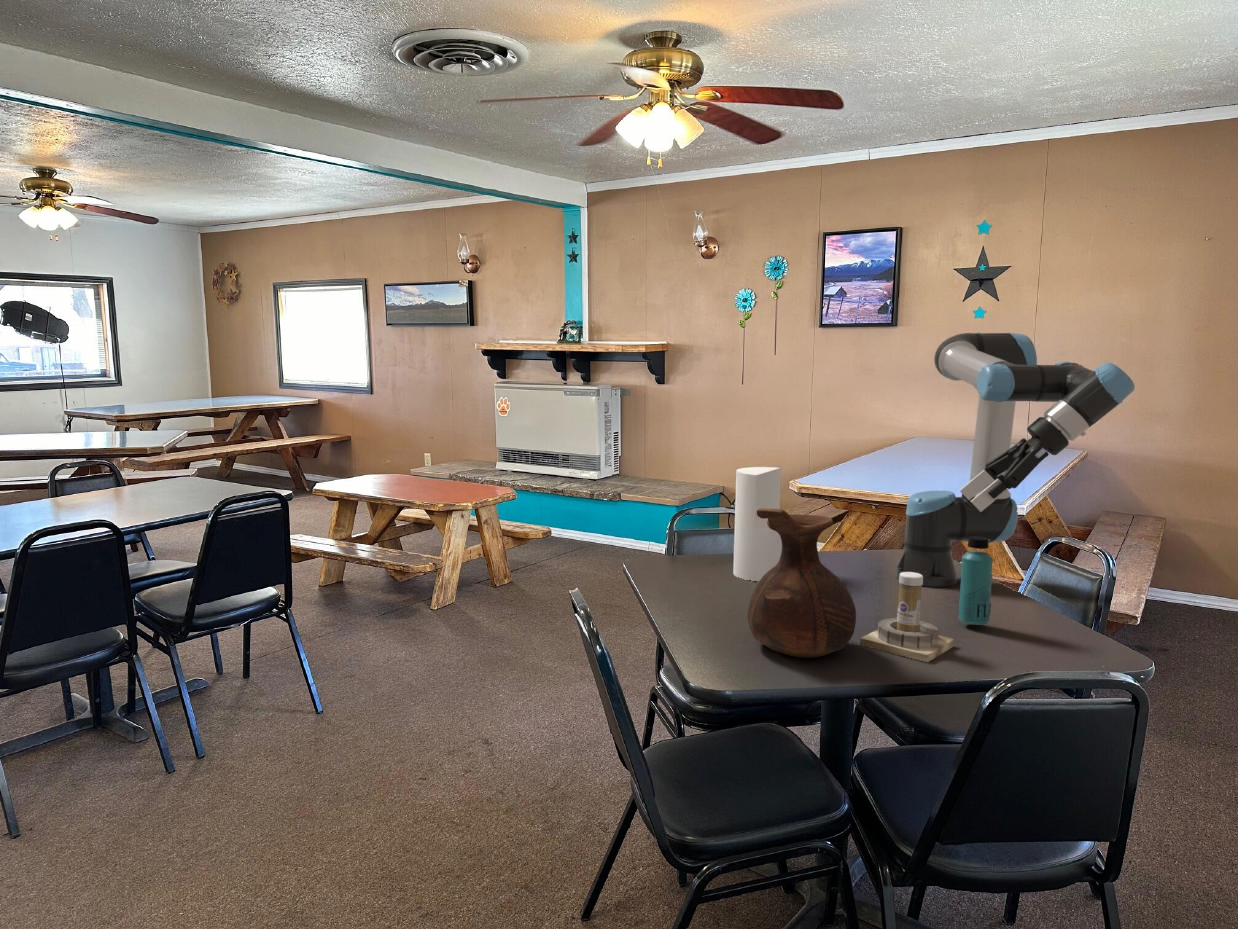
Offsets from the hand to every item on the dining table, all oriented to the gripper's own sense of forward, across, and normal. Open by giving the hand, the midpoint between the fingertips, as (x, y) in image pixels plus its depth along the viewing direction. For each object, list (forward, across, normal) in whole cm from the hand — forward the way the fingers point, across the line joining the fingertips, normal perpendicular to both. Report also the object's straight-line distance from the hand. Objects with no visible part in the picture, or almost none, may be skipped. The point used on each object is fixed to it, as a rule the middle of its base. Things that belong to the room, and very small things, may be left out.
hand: (969, 500), depth 170 cm
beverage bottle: (+18, +12, -24) cm, 32 cm away
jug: (+44, -12, +2) cm, 46 cm away
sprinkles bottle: (+28, -5, -12) cm, 31 cm away
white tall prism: (+51, +44, +9) cm, 68 cm away
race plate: (+29, -5, -13) cm, 32 cm away
